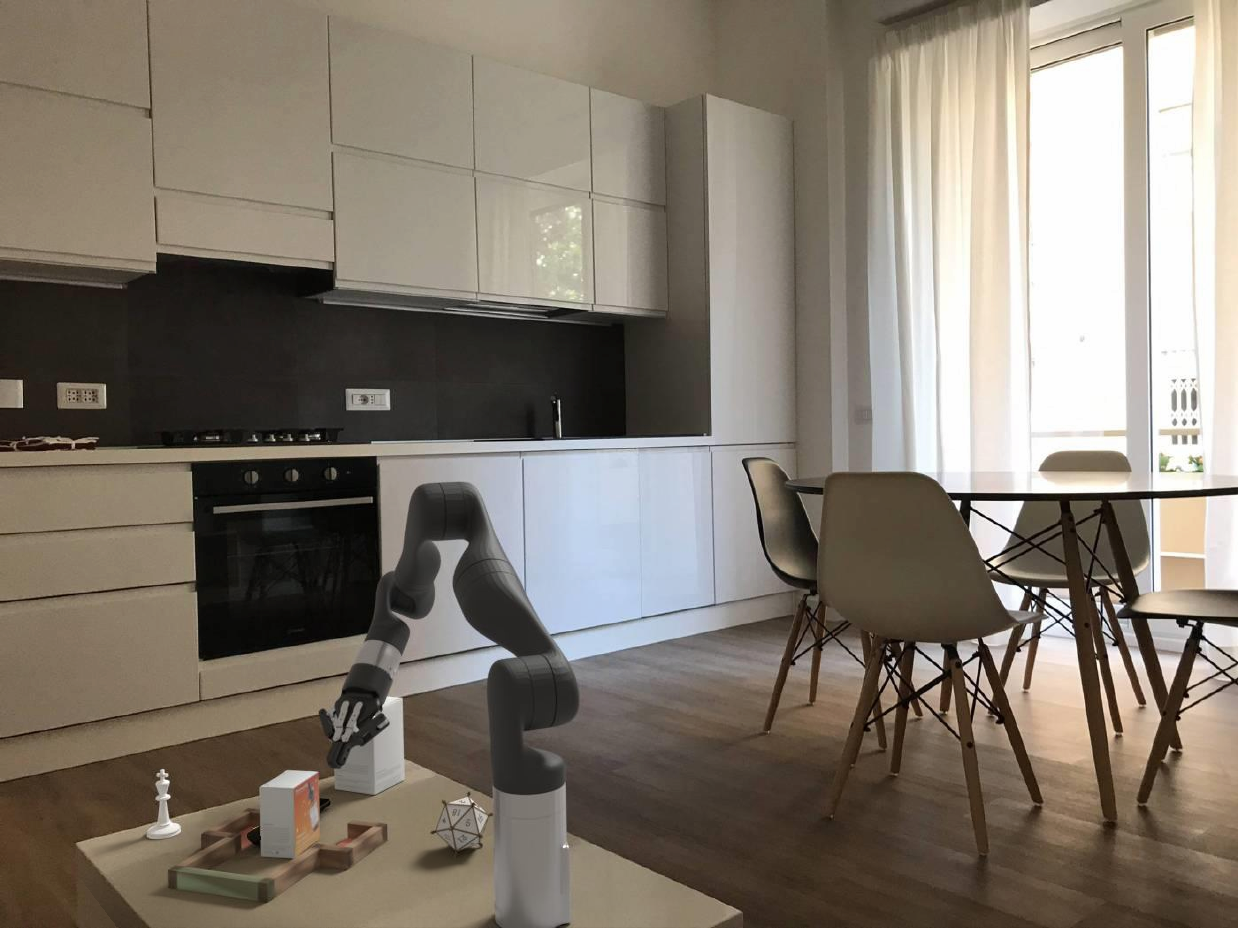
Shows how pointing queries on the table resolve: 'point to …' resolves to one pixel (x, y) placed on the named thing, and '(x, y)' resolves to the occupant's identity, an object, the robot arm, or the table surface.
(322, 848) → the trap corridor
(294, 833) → the small box
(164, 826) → the chess piece
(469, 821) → the game die
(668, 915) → the table surface
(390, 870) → the table surface
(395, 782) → the supplement box
